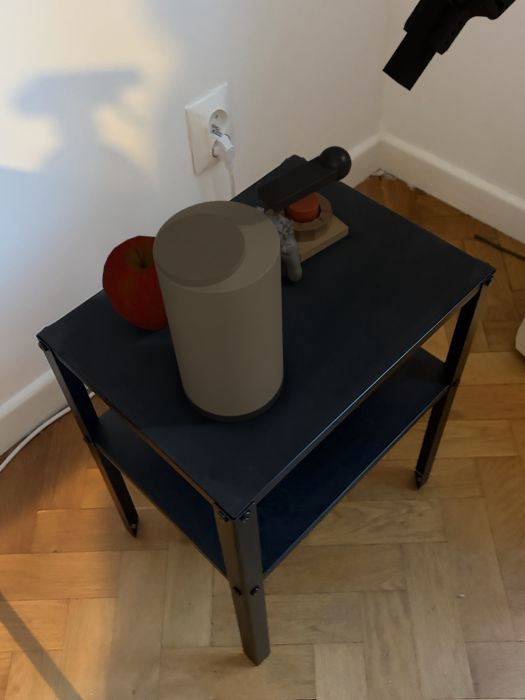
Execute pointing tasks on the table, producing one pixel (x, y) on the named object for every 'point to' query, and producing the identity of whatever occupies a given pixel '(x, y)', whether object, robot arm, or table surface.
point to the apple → (135, 283)
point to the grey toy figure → (287, 245)
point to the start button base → (316, 229)
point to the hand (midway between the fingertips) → (396, 80)
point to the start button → (304, 209)
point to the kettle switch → (306, 178)
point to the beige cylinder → (223, 306)
